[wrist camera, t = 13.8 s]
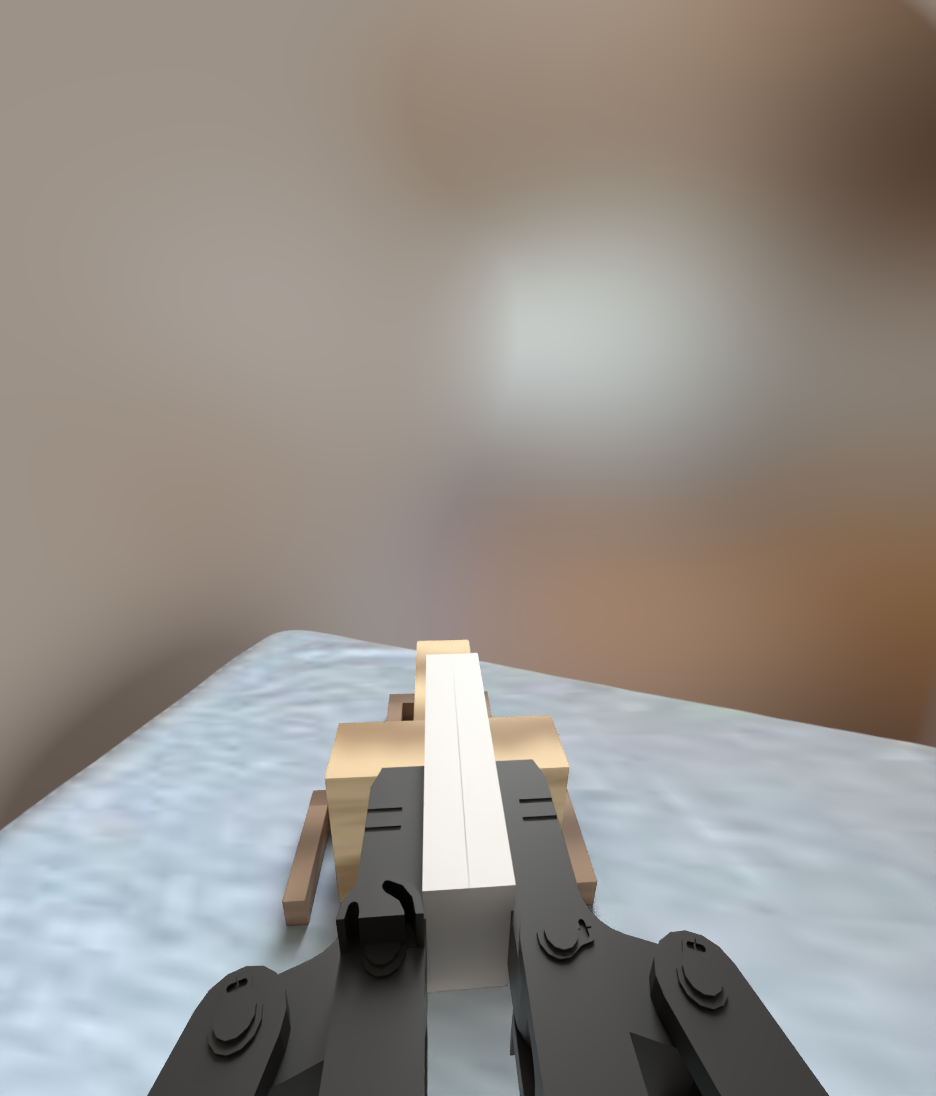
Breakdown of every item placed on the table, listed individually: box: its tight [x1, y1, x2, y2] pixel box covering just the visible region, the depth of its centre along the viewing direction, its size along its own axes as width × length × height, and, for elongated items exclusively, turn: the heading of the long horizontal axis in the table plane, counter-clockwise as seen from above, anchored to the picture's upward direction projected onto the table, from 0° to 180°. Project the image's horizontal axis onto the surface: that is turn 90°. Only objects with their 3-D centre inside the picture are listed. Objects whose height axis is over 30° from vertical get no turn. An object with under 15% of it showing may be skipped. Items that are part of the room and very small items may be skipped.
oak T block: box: [325, 640, 569, 903], centre depth 40 cm, size 16×16×12 cm
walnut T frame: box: [282, 691, 597, 926], centre depth 43 cm, size 22×22×2 cm
